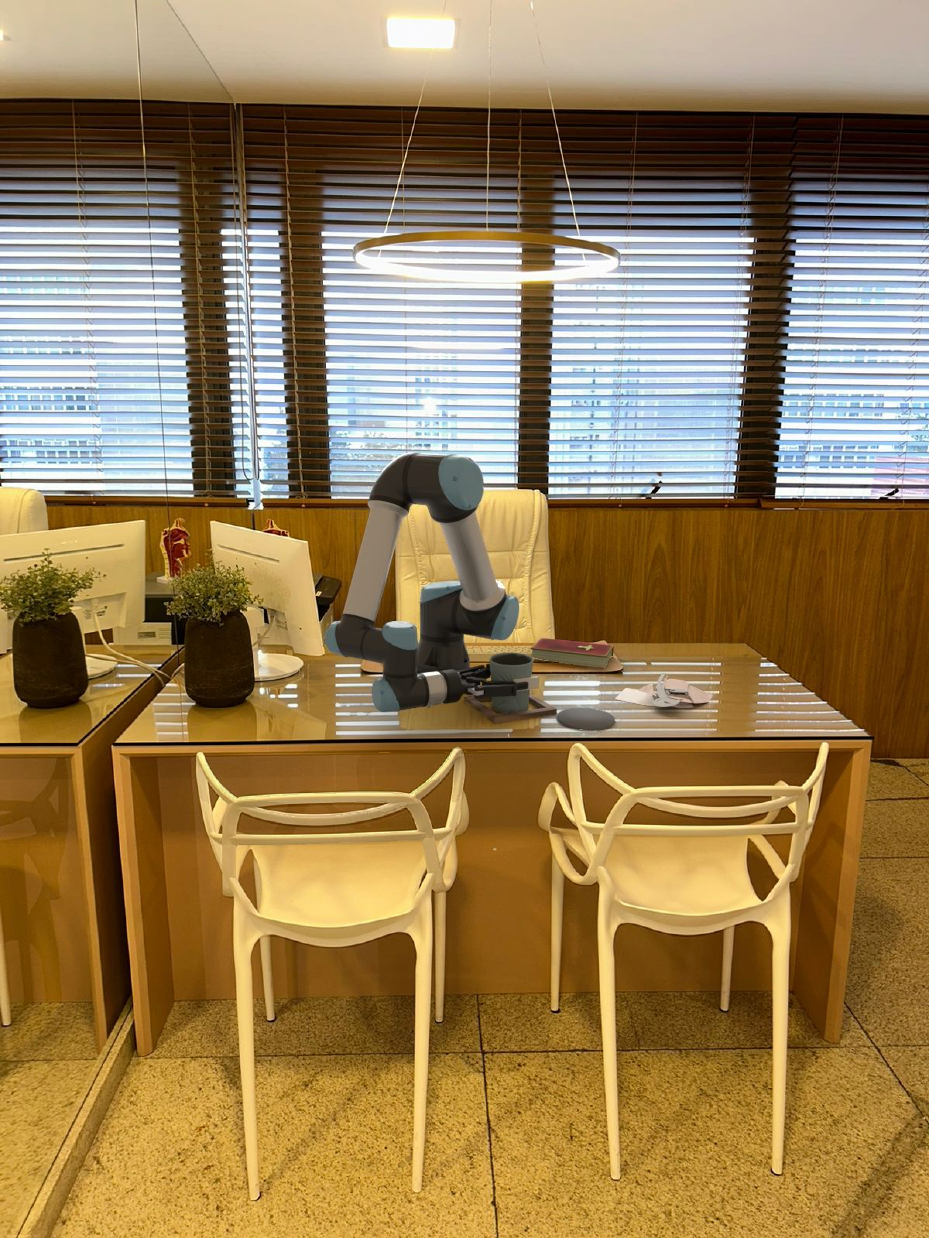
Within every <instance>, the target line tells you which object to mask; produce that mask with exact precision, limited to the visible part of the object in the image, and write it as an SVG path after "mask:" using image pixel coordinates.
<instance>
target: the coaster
mask: <svg viewBox="0 0 929 1238" xmlns="http://www.w3.org/2000/svg"><path fill="white" fill-rule="evenodd" d="M556 720H557V722H559V723H560V725H562V726H564V727H566V728H570V729H575V730H579V729H582V730H581V731H601V730H606V729H609V728H612V727H613V726H615V725H614V724H615V722H616V721H615V720H616V718H615V717H614V715H612V714H611V713H609V712H607V711H604V710H601V709H596V708H591V707H570V708H567V709H566V708H565V709H562V710H561V711H559V712H557V715H556Z"/></svg>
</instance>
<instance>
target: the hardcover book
mask: <svg viewBox="0 0 929 1238" xmlns="http://www.w3.org/2000/svg"><path fill="white" fill-rule="evenodd" d="M614 649H615V645H611V644H602V643H594V642H593V643H592V642H586V641H585V642H584V641H583V642H582V641H574V640H573V641H572V640H566V639H556V638H547V637H546V638H545V637H540V638H539V639H538V640H537V641H536V642H535V643H533V645H532V646H531V647H530V650H531V651H532V652H531V657H534V658H538V659H542V660H548V661H555V662H559V663H558V664H563V663H565V664H564V665H571V664H573V665H572V666H581V667H591V668H597V667H605V666H607V665H608V664H609V662H610V661H609V659H610V657H611V656H613V657H614V652H615V651H614ZM611 658H612V657H611ZM610 660H611V659H610ZM608 661H609V662H608ZM607 663H608V664H607ZM606 664H607V665H606ZM605 668H606V667H605Z"/></svg>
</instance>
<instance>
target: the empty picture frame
mask: <svg viewBox="0 0 929 1238" xmlns="http://www.w3.org/2000/svg"><path fill="white" fill-rule="evenodd" d="M463 697H464V698H463V702H464V703H466V704H467V705H468V706H470V707H471V708H473V709H474V710H476V711H477V712H479V713H480V714H481V715H483V716H484V717H485V718H487V719H488V720H490V721H491V722H493V724H501V722H502V723H507V722H513V721H520V720H528V719H532V718H539V717H540V718H541V717H545V716H552V715H553V716H554V715H556V714H558V709H557V708H556V707H554V706H553V705H551V704H549V703H548V702H546V701H545V700H543V699H541V698H539V697H538V696H536V695H534V694H533V693H532V692H530V694H529V703H531V704H532V705H534V706H535V707H537V708H535V709H530V710H529V709H527V710H526V711H521V712H514V713H502V714H498V713H497V712H496V711H495V710H493V709H491V708H490V707H488V706H487V705H486V704H484V703H483V702H488V701H492V697H484V698H479V699H476V698H474V694H473V695H466V696H463ZM519 719H520V720H519Z"/></svg>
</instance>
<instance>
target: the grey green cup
mask: <svg viewBox="0 0 929 1238" xmlns="http://www.w3.org/2000/svg"><path fill="white" fill-rule="evenodd" d="M488 660H489V664H490V672H491V676H490V681H513V680H514V679H521V678H528V677H532V674H533V673H532V672H533V666H534V660H533V658H532V656H530V655H528V654H525V653H518V652H500V653H496V654H493V655H491V656H490V657H489V659H488ZM530 691H531V690H524V691H517V695H516V696H503V697H492V700H491V708H492V710H493V711H495V712H500V713H502V714H508V713H514V712H521V711H527V710H529V705H530V704H529V703H530V702H529V694H530V693H531V692H530Z"/></svg>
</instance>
